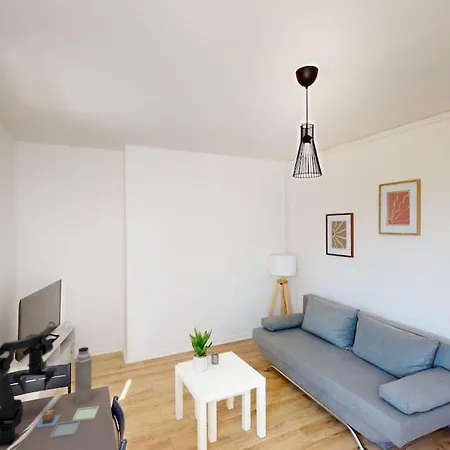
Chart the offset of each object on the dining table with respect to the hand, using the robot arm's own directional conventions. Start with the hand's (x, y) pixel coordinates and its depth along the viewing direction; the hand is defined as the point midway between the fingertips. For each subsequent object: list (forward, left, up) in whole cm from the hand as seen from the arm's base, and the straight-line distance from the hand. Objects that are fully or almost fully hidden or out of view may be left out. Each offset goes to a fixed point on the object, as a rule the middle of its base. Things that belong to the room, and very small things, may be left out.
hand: (35, 391), depth 151 cm
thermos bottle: (+10, -20, -12) cm, 25 cm away
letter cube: (-8, -9, -11) cm, 16 cm away
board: (-8, -9, -12) cm, 17 cm away
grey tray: (-16, -19, -12) cm, 28 cm away
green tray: (-5, -25, -12) cm, 28 cm away
